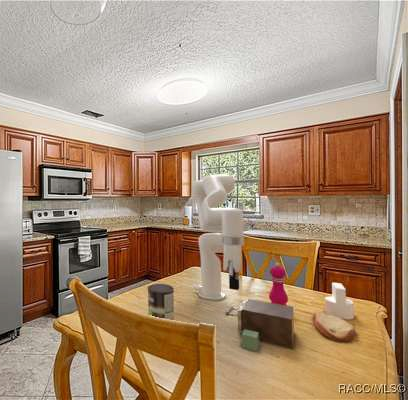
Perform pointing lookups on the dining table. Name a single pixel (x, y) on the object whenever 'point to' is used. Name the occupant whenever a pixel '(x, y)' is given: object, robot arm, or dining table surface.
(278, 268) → the pepper mill
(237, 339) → the dining table surface
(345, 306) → the white stepped tower
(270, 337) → the cabinet
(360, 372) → the dining table surface
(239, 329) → the drawer
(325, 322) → the slice of bread
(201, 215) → the robot arm
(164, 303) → the coffee can
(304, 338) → the dining table surface
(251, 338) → the block
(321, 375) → the dining table surface
